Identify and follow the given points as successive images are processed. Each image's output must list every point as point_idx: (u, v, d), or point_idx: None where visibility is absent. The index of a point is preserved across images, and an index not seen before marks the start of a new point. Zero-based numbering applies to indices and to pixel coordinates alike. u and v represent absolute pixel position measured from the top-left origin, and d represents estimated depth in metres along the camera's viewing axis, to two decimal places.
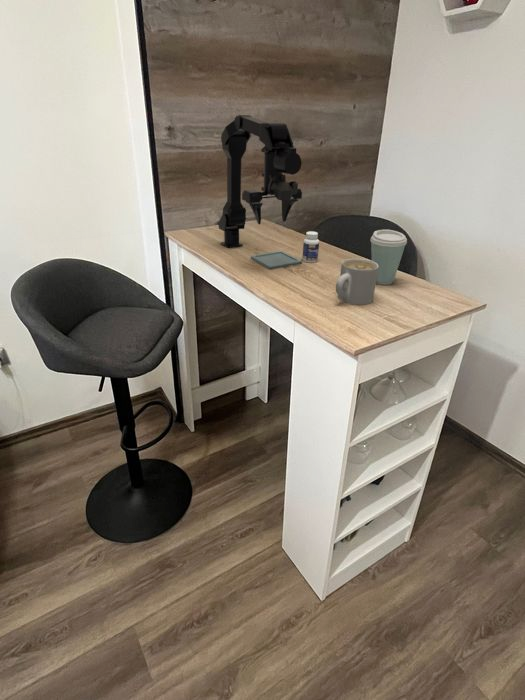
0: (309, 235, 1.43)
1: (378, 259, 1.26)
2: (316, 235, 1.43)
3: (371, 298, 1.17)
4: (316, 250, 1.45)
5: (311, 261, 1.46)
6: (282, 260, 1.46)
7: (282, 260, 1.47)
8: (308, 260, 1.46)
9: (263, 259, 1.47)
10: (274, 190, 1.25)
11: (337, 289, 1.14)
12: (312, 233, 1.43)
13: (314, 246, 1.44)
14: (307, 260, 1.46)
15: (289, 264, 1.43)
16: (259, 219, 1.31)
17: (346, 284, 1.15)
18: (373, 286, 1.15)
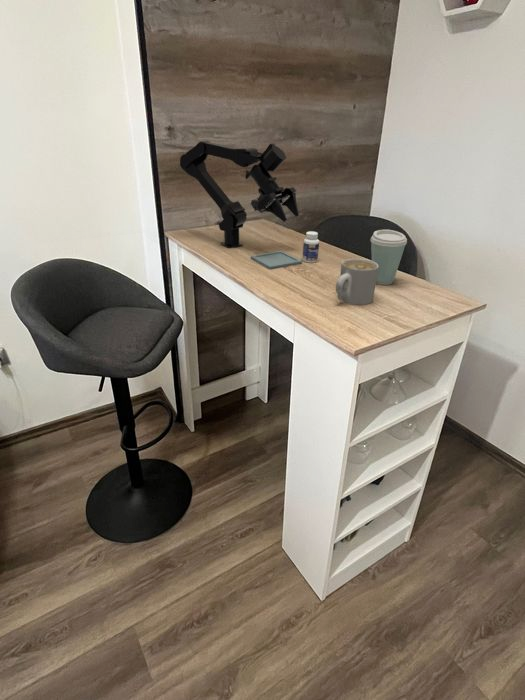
0: (309, 235, 1.43)
1: (378, 259, 1.26)
2: (316, 235, 1.43)
3: (371, 298, 1.17)
4: (316, 250, 1.45)
5: (311, 261, 1.46)
6: (282, 260, 1.46)
7: (282, 260, 1.47)
8: (308, 260, 1.46)
9: (263, 259, 1.47)
10: None
11: (337, 289, 1.14)
12: (312, 233, 1.43)
13: (314, 246, 1.44)
14: (307, 260, 1.46)
15: (289, 264, 1.43)
16: None
17: (346, 284, 1.15)
18: (373, 286, 1.15)
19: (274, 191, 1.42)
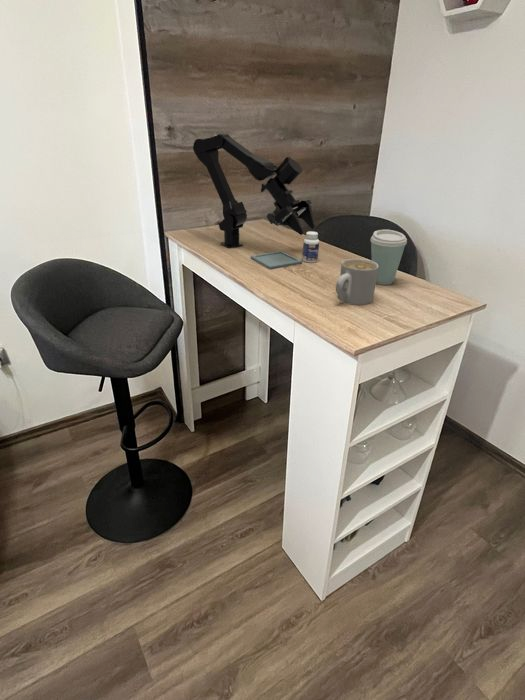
0: (309, 235, 1.43)
1: (378, 259, 1.26)
2: (316, 235, 1.43)
3: (371, 298, 1.17)
4: (316, 250, 1.45)
5: (311, 261, 1.46)
6: (282, 260, 1.46)
7: (282, 260, 1.47)
8: (308, 260, 1.46)
9: (263, 259, 1.47)
10: None
11: (337, 289, 1.14)
12: (312, 233, 1.43)
13: (314, 246, 1.44)
14: (307, 260, 1.46)
15: (289, 264, 1.43)
16: None
17: (346, 284, 1.15)
18: (373, 286, 1.15)
19: (290, 204, 1.41)
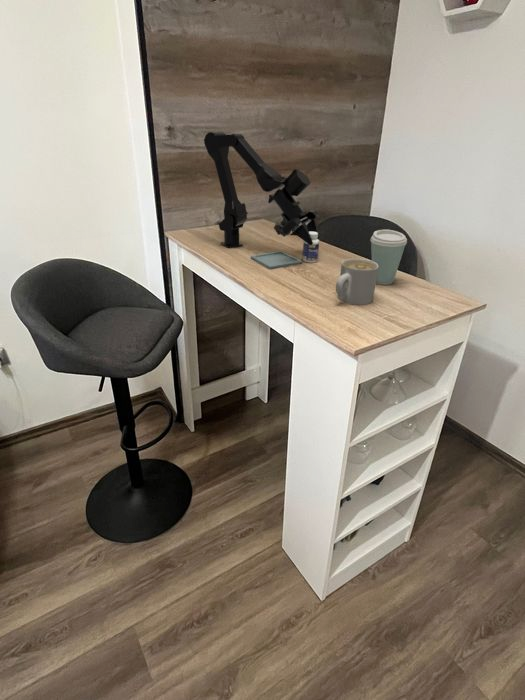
0: None
1: (378, 259, 1.26)
2: (316, 235, 1.43)
3: (371, 298, 1.17)
4: (316, 250, 1.45)
5: (311, 261, 1.46)
6: (282, 260, 1.46)
7: (282, 260, 1.47)
8: (308, 260, 1.46)
9: (263, 259, 1.47)
10: None
11: (337, 289, 1.14)
12: (312, 233, 1.43)
13: (314, 246, 1.44)
14: (307, 260, 1.46)
15: (289, 264, 1.43)
16: None
17: (346, 284, 1.15)
18: (373, 286, 1.15)
19: (298, 216, 1.41)
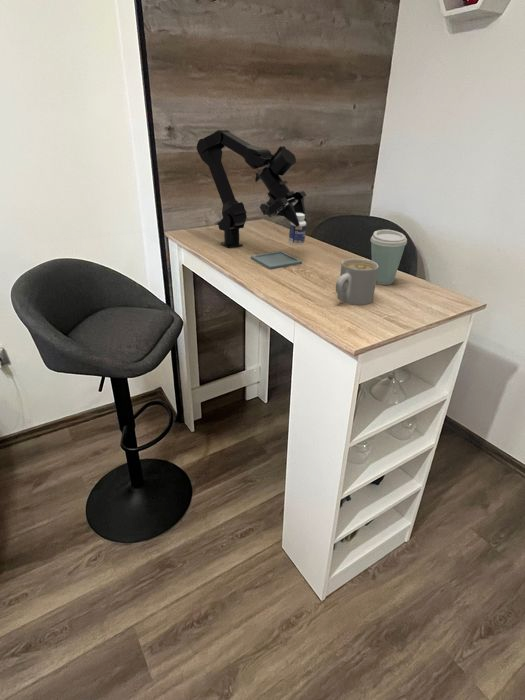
0: None
1: (378, 259, 1.26)
2: (303, 216, 1.39)
3: (371, 298, 1.17)
4: (303, 232, 1.41)
5: (298, 244, 1.42)
6: (282, 260, 1.46)
7: (282, 260, 1.47)
8: (294, 242, 1.42)
9: (263, 259, 1.47)
10: None
11: (337, 289, 1.14)
12: (299, 214, 1.39)
13: (301, 228, 1.40)
14: (293, 242, 1.42)
15: (289, 264, 1.43)
16: None
17: (346, 284, 1.15)
18: (373, 286, 1.15)
19: (285, 195, 1.37)
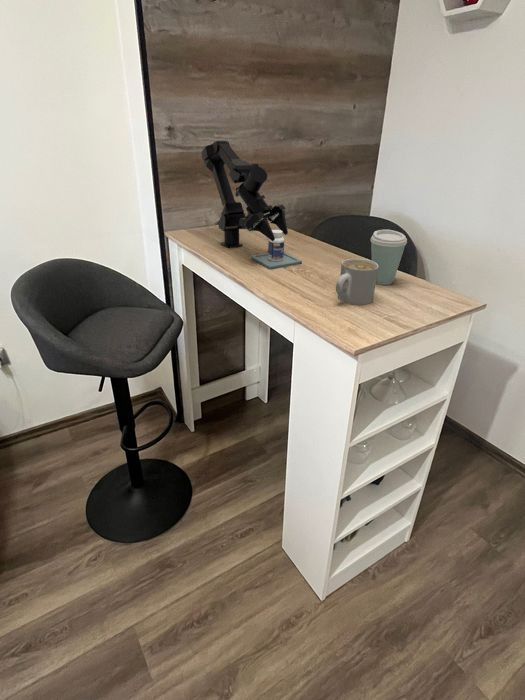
0: (273, 233, 1.41)
1: (378, 259, 1.26)
2: (280, 233, 1.41)
3: (371, 298, 1.17)
4: (281, 248, 1.43)
5: (276, 260, 1.45)
6: (282, 260, 1.46)
7: (282, 260, 1.47)
8: (273, 259, 1.45)
9: (263, 259, 1.47)
10: None
11: (337, 289, 1.14)
12: (277, 231, 1.42)
13: (279, 244, 1.42)
14: (272, 259, 1.45)
15: (289, 264, 1.43)
16: None
17: (346, 284, 1.15)
18: (373, 286, 1.15)
19: (262, 210, 1.39)
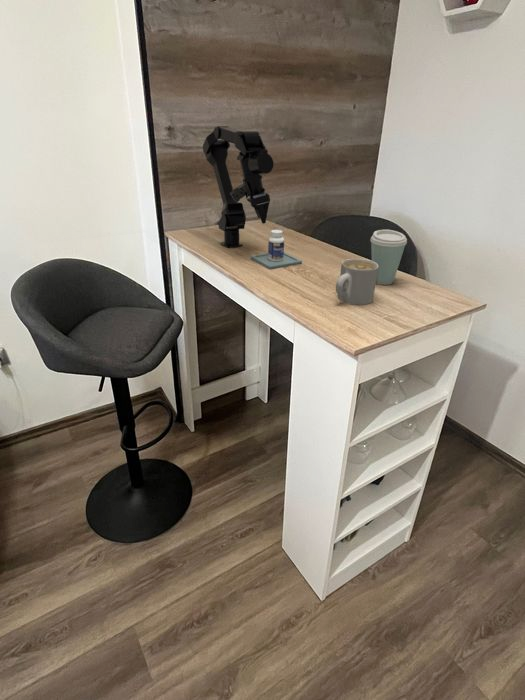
0: (273, 233, 1.41)
1: (378, 259, 1.26)
2: (280, 233, 1.41)
3: (371, 298, 1.17)
4: (281, 248, 1.43)
5: (276, 260, 1.45)
6: (282, 260, 1.46)
7: (282, 260, 1.47)
8: (273, 259, 1.45)
9: (263, 259, 1.47)
10: None
11: (337, 289, 1.14)
12: (276, 231, 1.42)
13: (279, 244, 1.42)
14: (272, 259, 1.45)
15: (289, 264, 1.43)
16: (256, 213, 1.50)
17: (346, 284, 1.15)
18: (373, 286, 1.15)
19: (261, 190, 1.40)
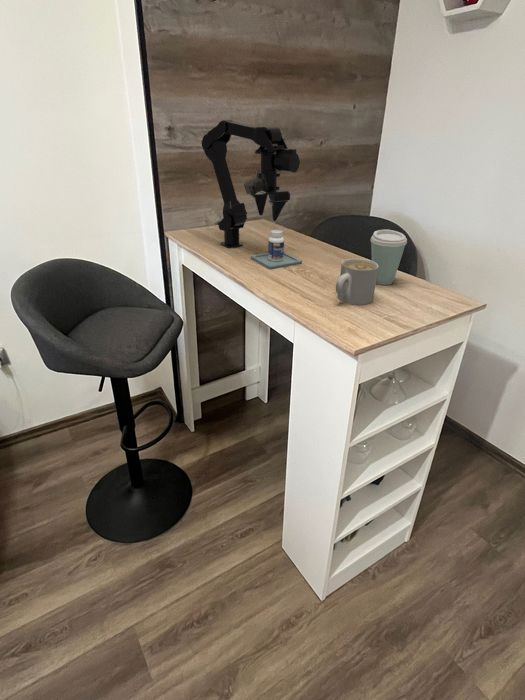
0: (273, 233, 1.41)
1: (378, 259, 1.26)
2: (280, 233, 1.41)
3: (371, 298, 1.17)
4: (281, 248, 1.43)
5: (276, 260, 1.45)
6: (282, 260, 1.46)
7: (282, 260, 1.47)
8: (273, 259, 1.45)
9: (263, 259, 1.47)
10: None
11: (337, 289, 1.14)
12: (276, 231, 1.42)
13: (279, 244, 1.42)
14: (272, 259, 1.45)
15: (289, 264, 1.43)
16: (258, 210, 1.50)
17: (346, 284, 1.15)
18: (373, 286, 1.15)
19: (276, 187, 1.41)
